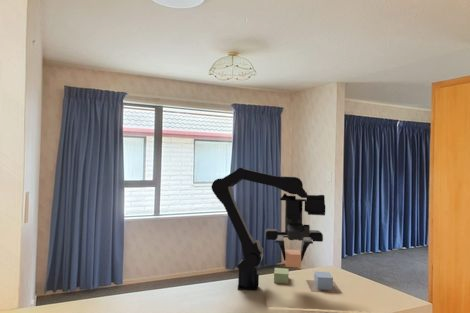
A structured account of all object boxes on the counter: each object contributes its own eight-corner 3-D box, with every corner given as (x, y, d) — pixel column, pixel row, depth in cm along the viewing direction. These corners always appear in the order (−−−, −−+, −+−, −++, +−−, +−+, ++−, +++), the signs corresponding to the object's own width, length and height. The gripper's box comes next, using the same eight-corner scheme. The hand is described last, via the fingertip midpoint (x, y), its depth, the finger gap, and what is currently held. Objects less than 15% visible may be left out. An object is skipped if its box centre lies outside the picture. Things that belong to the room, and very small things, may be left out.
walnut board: (311, 293, 113) (311, 291, 113) (306, 281, 125) (306, 280, 125) (342, 294, 113) (342, 293, 113) (334, 283, 125) (334, 281, 125)
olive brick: (273, 284, 122) (274, 273, 122) (274, 278, 129) (274, 267, 129) (288, 285, 121) (288, 274, 121) (288, 279, 128) (288, 268, 128)
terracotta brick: (285, 266, 113) (285, 254, 113) (285, 260, 120) (285, 249, 120) (301, 267, 112) (301, 254, 112) (299, 261, 119) (300, 250, 119)
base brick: (317, 289, 116) (317, 277, 116) (314, 282, 123) (314, 271, 123) (332, 290, 115) (333, 277, 116) (328, 283, 122) (328, 271, 123)
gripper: (266, 216, 109) (265, 266, 109) (326, 218, 108) (325, 268, 107) (265, 212, 120) (264, 257, 120) (320, 213, 119) (319, 259, 119)
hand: (292, 260), depth 116 cm, fingers closed on terracotta brick, 5 cm apart
